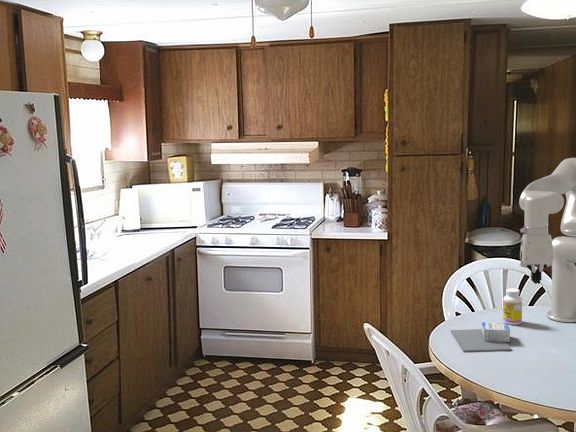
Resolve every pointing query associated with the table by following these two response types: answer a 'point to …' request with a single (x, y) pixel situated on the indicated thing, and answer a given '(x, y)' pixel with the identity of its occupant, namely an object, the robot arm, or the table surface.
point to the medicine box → (495, 331)
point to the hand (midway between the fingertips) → (536, 282)
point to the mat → (477, 341)
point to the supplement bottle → (512, 307)
